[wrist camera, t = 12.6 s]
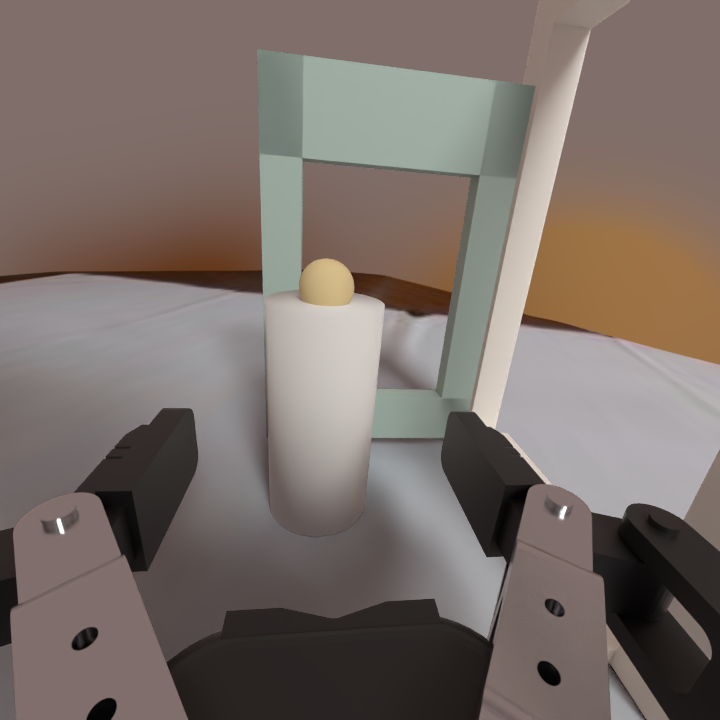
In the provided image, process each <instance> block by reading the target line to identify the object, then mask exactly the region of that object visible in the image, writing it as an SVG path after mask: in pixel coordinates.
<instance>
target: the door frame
mask: <svg viewBox="0 0 720 720" xmlns="http://www.w3.org/2000/svg"><path fill="white" fill-rule="evenodd" d="M630 1H631V0H539V3H538V8H537V13H536V19H535V24H534V29H533V34H532V39H531V44H530V50H529V55H528V60H527V65H526V70H525V75H524V80H523V84H524V85H532V86H536V87H535V92H534V96H533V101H532V106H531V111H530V116H529V121H528V126H527V131H526V135H525V140H524V145H523V150H522V155H521V160H520V165H519V170H518V174H517V179H516V184H515V189H514V194H513V199H512V204H511V209H510V213H509V218H508V223H507V228H506V233H505V238H504V243H503V247H502V252H501V257H500V262H499V267H498V272H497V277H496V282H495V286H494V291H493V296H492V301H491V306H490V311H489V316H488V321H487V325H486V330H485V335H484V340H483V345H482V350H481V355H480V360H479V364H478V369H477V374H476V379H475V384H474V389H473V394H472V399H471V403H470V408H469V412H475V413H476V414H477V415H478V416H479V417H480V419H481V420H482V421H483V422H484V424H485V425H486V426H487V427H492V428H493V429H495V427H496V423H497V419H498V414H499V410H500V406H501V402H502V398H503V394H504V389H505V385H506V381H507V377H508V373H509V369H510V364H511V360H512V356H513V352H514V348H515V343H516V339H517V335H518V331H519V327H520V323H521V318H522V314H523V310H524V306H525V302H526V298H527V293H528V289H529V285H530V281H531V277H532V273H533V268H534V264H535V260H536V256H537V252H538V247H539V243H540V239H541V235H542V231H543V227H544V223H545V218H546V214H547V210H548V205H549V202H550V197H551V193H552V189H553V185H554V181H555V177H556V172H557V168H558V164H559V160H560V156H561V151H562V147H563V143H564V139H565V135H566V131H567V127H568V122H569V118H570V114H571V110H572V105H573V102H574V97H575V93H576V89H577V85H578V81H579V76H580V72H581V68H582V64H583V60H584V56H585V51H586V47H587V43H588V39H589V35H590V31H591V28H593V27H594V26H596V25H597V24H599V23H600V22H601V21H603V20H604V19H606V18H607V17H609V16H610V15H611V14H613V13H614V12H616V11H617V10H618V9H620V8H621V7H623V6H624V5H626V4H627V3H628V2H630ZM501 434H502V435H504V436H505V437H506V438H507V439H508V441H509V442H510V443H511V444H512V445H513V448H515V449H516V450H517V451H518V452H519V453H520V454H521V457H523V458H524V459H525V460H526V461H527V463H528V464H529V465H530V466H531V467H532V468H533V470H534V471H535V472H536V473H537V474H538V475H539V477H540V478H541V479H542V480H543V481H544V482H545V484H549V485H552V484H551V483H550V482H549V480H548V479H547V478H546V477H545V476H544V475H543V474H542V472H541V471H540V470H539V469H538V468H537V467H536V466H535V464H534V463H533V462H532V461H531V460H530V459H529V457H528V456H527V455H526V454H525V453H524V452H523V451H522V449H521V448H520V447H519V446H518V445H517V444H516V443H515V441H514V440H513V439H512V438H511V437H510V436H509V435H508V433H501ZM683 521H685V522H686V523H687V524H689V525H690V526H691V527H692V528H693V529H695V530H696V531H697V532H698V533H699V534H700V535H701V536H703V537H704V538H705V539H706V540H707V541H708V542H709V543H711V544H712V545H713V546H714V547H715V548H716V549H717V550H719V551H720V450H719V452H718V454H717V456H716V458H715V460H714V462H713V464H712V466H711V467H710V469H709V471H708V473H707V475H706V477H705V479H704V481H703V483H702V485H701V487H700V489H699V491H698V493H697V495H696V497H695V499H694V501H693V503H692V505H691V506H690V508H689V510H688V512H687V514H686V516H685V518H684V520H683ZM667 610H668V611H669V612H670V613H671V614H672V616H673V617H674V618H675V619H676V620H677V621H678V623H679V624H680V625H681V626H682V627H683V629H684V630H685V631H686V632H687V633H688V635H689V636H690V637H691V638H692V639H693V641H694V642H695V643H696V644H697V645H698V647H699V648H700V649H701V650H702V651H703V652H704V654H705V655H706V656H707V657H708V658H709V660H710V659H711V656H712V650H711V645H710V642H709V639H708V637H707V635H706V633H705V632H704V630H703V629H702V628H701V626H700V625H699V624H698V623H697V622H696V621H695V620H694V618H693V617H692V616H691V615H690V614H689V613H688V612H687V610H686V609H685V608H684V607H683V606H682V605H681V604H680V603H679V601H678V600H677V599H676V598H675V597H674V598H673V600H672V602H671V604H670V606H669V607H668V609H667ZM606 633H607V652H608V664H610V665H611V666H612V668H613V669H614V671H615V672H616V674H617V675H618V677H619V678H620V680H621V681H622V683H623V685H624V686H625V688H626V689H627V691H628V692H629V694H630V695H631V697H632V698H633V700H634V701H635V703H636V704H637V706H638V708H639V709H640V711H641V712H642V714H643V715H644V717H645V718H646V720H669V718H668V717H667V715H666V714H665V712H664V711H663V709H662V708H661V706H660V705H659V703H658V702H657V700H656V699H655V697H654V696H653V694H652V692H651V691H650V689H649V688H648V686H647V685H646V683H645V682H644V680H643V679H642V677H641V676H640V674H639V673H638V671H637V670H636V668H635V667H634V665H633V664H632V662H631V661H630V659H629V657H628V656H627V654H626V653H625V651H624V650H623V648H622V647H621V645H620V644H619V642H618V641H617V639H616V638H615V636H614V635H613V633H612V632H611V630H610V629H609V627H608V626H607V624H606Z"/></svg>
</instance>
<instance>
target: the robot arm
mask: <svg viewBox="0 0 720 720" xmlns="http://www.w3.org/2000/svg"><path fill="white" fill-rule="evenodd" d="M441 461H442V467H443V470H444V473H445V475H446V477H447V479H448V481H449V483H450V485H451V487H452V489H453V491H454V493H455V495H456V497H457V499H458V501H459V503H460V505H461V507H462V509H463V511H464V513H465V515H466V517H467V519H468V521H469V523H470V525H471V527H472V529H473V531H474V533H475V535H476V537H477V539H478V541H479V543H480V545H481V547H482V549H483V551H484V553H485V555H486V557H501V556H503V557H504V558H505V560H506V562H507V563H506V567H505V570H504V574H503V578H502V582H501V586H500V590H499V594H498V598H497V602H496V606H495V610H494V614H493V618H492V622H491V626H490V630H489V634H488V638H487V639H486V638H485V637H483V636H482V635H480V634H479V633H477V632H475V631H474V630H472V629H470V628H468V627H466V626H464V625H462V624H460V623H458V622H455V621H452V620H449V619H446V618H441V617H440V616H439V613H438V609H437V606H436V603H435V600H434V599H422V600H405V601H388V602H384V603H381V604H378V605H375V606H372V607H369V608H366V609H363V610H360V611H357V612H355V613H352V614H349V615H346V616H343V617H340V618H326V617H322V616H317V615H312V614H307V613H303V612H298V611H293V610H288V609H283V608H271V609H254V610H237V611H227V613H226V617H225V621H224V625H223V630H222V631H221V632H218V633H215V634H212V635H210V636H208V637H206V638H204V639H202V640H199V641H198V642H196V643H194V644H193V645H191V646H189V647H187V648H186V649H184V650H183V651H181V652H180V653H179V654H177V655H176V656H174V657H173V658H172V659H170V660H169V661H168V662H167V663H166V661H165V658H164V656H163V653H162V650H161V648H160V645H159V643H158V640H157V637H156V635H155V632H154V629H153V627H152V624H151V622H150V619H149V616H148V614H147V611H146V609H145V606H144V603H143V601H142V598H141V596H140V593H139V590H138V588H137V585H136V582H135V580H134V577H133V575H132V572H137V571H148V569H149V567H150V565H151V563H152V561H153V559H154V557H155V554H156V552H157V550H158V548H159V546H160V544H161V542H162V540H163V538H164V536H165V534H166V532H167V530H168V528H169V526H170V523H171V521H172V519H173V517H174V515H175V513H176V511H177V509H178V507H179V505H180V503H181V501H182V499H183V497H184V495H185V493H186V490H187V488H188V486H189V484H190V482H191V480H192V478H193V476H194V474H195V471H196V467H197V462H198V449H197V440H196V431H195V421H194V414H193V411H192V409H190V408H163V409H162V410H161V411H160V412H159V413H158V415H157V416H156V417H155V418H154V419H153V421H152V422H151V423H150V424H149V425H141V426H139V427H138V428H136V429H134V430H133V431H131V432H129V433H128V434H126V435H125V436H124V437H123V438H122V439H121V440H120V441H119V443H118V444H117V445H116V446H115V449H112V450H111V452H110V453H109V454H108V455H107V456H106V459H103V460H102V462H101V463H100V464H99V465H98V466H97V467H96V468H95V469H94V471H93V472H92V473H91V474H90V475H89V476H88V477H87V478H86V480H85V481H84V482H83V483H82V484H81V485H80V486H79V487H78V489H77V490H76V491H75V492H74V493H70V494H66V495H62V496H59V497H55V498H53V499H50V500H48V501H46V502H44V503H42V504H40V505H38V506H36V507H35V508H33V509H32V510H30V511H29V512H28V513H26V514H25V515H24V516H23V517H22V518H21V519H20V520H19V521H18V523H17V524H16V526H15V527H14V528H11V529H6V530H2V531H0V647H1V646H4V645H7V644H10V643H12V657H13V675H14V694H15V712H16V720H611V711H610V691H609V672H608V652H607V633H606V624H607V626H608V627H609V629H610V630H611V632H612V633H613V635H614V636H615V638H616V639H617V641H618V642H619V644H620V645H621V647H622V648H623V650H624V651H625V653H626V654H627V656H628V657H629V659H630V661H631V662H632V664H633V665H634V667H635V668H636V670H637V671H638V673H639V674H640V676H641V677H642V679H643V680H644V682H645V683H646V685H647V686H648V688H649V689H650V691H651V692H652V694H653V696H654V697H655V699H656V700H657V702H658V703H659V705H660V706H661V708H662V709H663V711H664V712H665V714H666V715H667V717H668V718H669V720H720V551H719V550H717V549H716V548H715V547H714V546H713V545H712V544H711V543H709V542H708V541H707V540H706V539H705V538H704V537H703V536H701V535H700V534H699V533H698V532H697V531H696V530H695V529H693V528H692V527H691V526H690V525H689V524H687V523H686V522H685V521H683V520H682V519H680V518H679V517H677V516H675V515H674V514H672V513H670V512H668V511H666V510H663V509H661V508H658V507H655V506H652V505H647V504H640V503H638V504H631V505H629V506H628V507H627V509H626V511H625V513H624V516H623V518H622V519H620V518H616V517H611V516H606V515H602V514H597V513H592V512H591V511H590V509H589V508H588V506H587V505H586V504H585V503H584V502H583V501H582V500H581V499H580V498H579V497H577V496H576V495H574V494H573V493H571V492H569V491H567V490H565V489H563V488H560V487H557V486H554V485H549V484H545V482H544V481H543V480H542V479H541V478H540V477H539V475H538V474H537V473H536V472H535V471H534V470H533V468H532V467H531V466H530V465H529V464H528V463H527V461H526V460H525V459H524V458H523V457H521V454H520V453H519V452H518V451H517V450H516V449H515V448H513V445H512V444H511V443H510V442H509V441H508V439H507V438H506V437H505V436H504V435H502V434H501V433H499V432H498V431H496V430H495V429H493V428H492V427H487V426H486V425H485V424H484V422H483V421H482V420H481V419H480V417H479V416H478V415H477V414H476V413H475V412H455V411H452V412H450V413H449V415H448V419H447V424H446V430H445V435H444V441H443V446H442V452H441ZM674 597H675V598H676V599H677V600H678V601H679V603H680V604H681V605H682V606H683V607H684V608H685V609H686V610H687V612H688V613H689V614H690V615H691V616H692V617H693V618H694V620H695V621H696V622H697V623H698V624H699V625H700V626H701V628H702V629H703V630H704V632H705V633H706V635H707V637H708V639H709V642H710V645H711V650H712V656H711V659H710V660H709V658H708V657H707V656H706V655H705V654H704V652H703V651H702V650H701V649H700V648H699V647H698V645H697V644H696V643H695V642H694V641H693V639H692V638H691V637H690V636H689V635H688V633H687V632H686V631H685V630H684V629H683V627H682V626H681V625H680V624H679V623H678V621H677V620H676V619H675V618H674V617H673V616H672V614H671V613H670V612H669V611H668V610H667V609H668V607H669V606H670V604H671V602H672V600H673V598H674Z"/></svg>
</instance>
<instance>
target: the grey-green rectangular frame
mask: <svg viewBox="0 0 720 720" xmlns="http://www.w3.org/2000/svg"><path fill="white" fill-rule="evenodd" d="M257 68H258V105H259V145H260V146H259V147H260V183H261V222H262V223H261V224H262V264H263V305H264V344H265V384H266V423H267V438H268V400H267V352H266V304H265V299H266V297H267V296H269V295H271V294H274V293H277V292H282V291H290V290H299V280H300V277H301V274H302V222H303V219H302V218H303V162H313V163H323V164H332V165H344V166H354V167H364V168H375V169H385V170H395V171H406V172H417V173H427V174H438V175H448V176H458V177H469V178H471V180H470V186H469V192H468V199H467V205H466V210H465V216H464V223H463V229H462V235H461V241H460V247H459V253H458V259H457V265H456V272H455V277H454V284H453V290H452V296H451V302H450V308H449V314H448V320H447V326H446V332H445V338H444V345H443V351H442V357H441V363H440V369H439V375H438V381H437V387H436V390H416V389H376V398H375V408H374V418H373V428H372V438H444V435H445V430H446V424H447V419H448V415H449V413H450V412H452V411H455V412H469V408H470V403H471V399H472V394H473V389H474V384H475V379H476V374H477V369H478V364H479V360H480V355H481V350H482V345H483V340H484V335H485V330H486V325H487V321H488V316H489V311H490V306H491V301H492V296H493V291H494V286H495V282H496V277H497V272H498V267H499V262H500V257H501V252H502V247H503V243H504V238H505V233H506V228H507V223H508V218H509V213H510V209H511V204H512V199H513V194H514V189H515V184H516V179H517V174H518V170H519V165H520V160H521V155H522V150H523V145H524V140H525V135H526V131H527V126H528V121H529V116H530V111H531V106H532V101H533V96H534V92H535V87H536V86H532V85H524V84H517V83H509V82H501V81H494V80H486V79H479V78H471V77H463V76H456V75H447V74H440V73H433V72H425V71H418V70H410V69H402V68H394V67H386V66H380V65H371V64H364V63H357V62H348V61H341V60H333V59H326V58H319V57H311V56H303V55H295V54H288V53H280V52H272V51H265V50H257Z"/></svg>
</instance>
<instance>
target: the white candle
mask: <svg viewBox="0 0 720 720" xmlns="http://www.w3.org/2000/svg"><path fill="white" fill-rule="evenodd" d="M265 304H266V352H267V400H268V448H269V495H270V509H271V513H272V515H273V516H274V518H275V519H276V521H277V522H278V523H279V524H280V525H281V526H283V527H284V528H286V529H287V530H289V531H291V532H294V533H297V534H300V535H304V536H315V537H319V536H327V535H332V534H336V533H339V532H341V531H343V530H345V529H347V528H349V527H350V526H351V525H353V524H354V523H355V522H356V521H357V520H358V519H359V517H360V516H361V514H362V512H363V510H364V507H365V498H366V488H367V478H368V468H369V458H370V448H371V438H372V428H373V418H374V408H375V398H376V388H377V378H378V368H379V358H380V348H381V338H382V328H383V318H384V308H385V305H384V303H383V302H381V301H380V300H378V299H375V298H372V297H369V296H365V295H361V294H356V293H354V281H353V278H352V275H351V273H350V271H349V270H348V269H347V268H346V267H345V266H344V265H343V264H342V263H340V262H338V261H336V260H332V259H319V260H316V261H314V262H312V263H311V264H309V265H308V266H307V267H306V268H305V269H304V271H303V272H302V274H301V277H300V280H299V290H290V291H282V292H277V293H274V294H271V295H269V296H267V297H266V299H265Z"/></svg>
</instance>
